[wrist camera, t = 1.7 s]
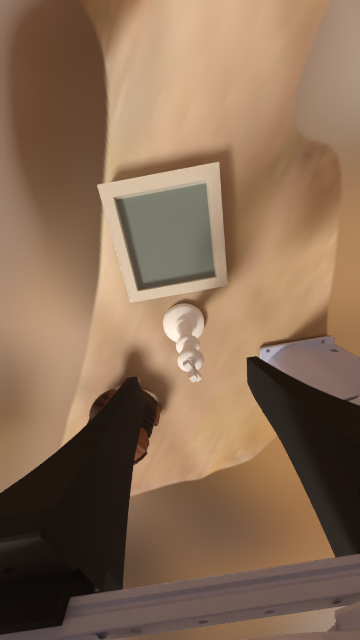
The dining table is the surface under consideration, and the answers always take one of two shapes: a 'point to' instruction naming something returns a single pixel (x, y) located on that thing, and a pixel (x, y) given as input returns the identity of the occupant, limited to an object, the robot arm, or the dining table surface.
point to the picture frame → (168, 231)
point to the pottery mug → (149, 420)
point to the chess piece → (186, 336)
